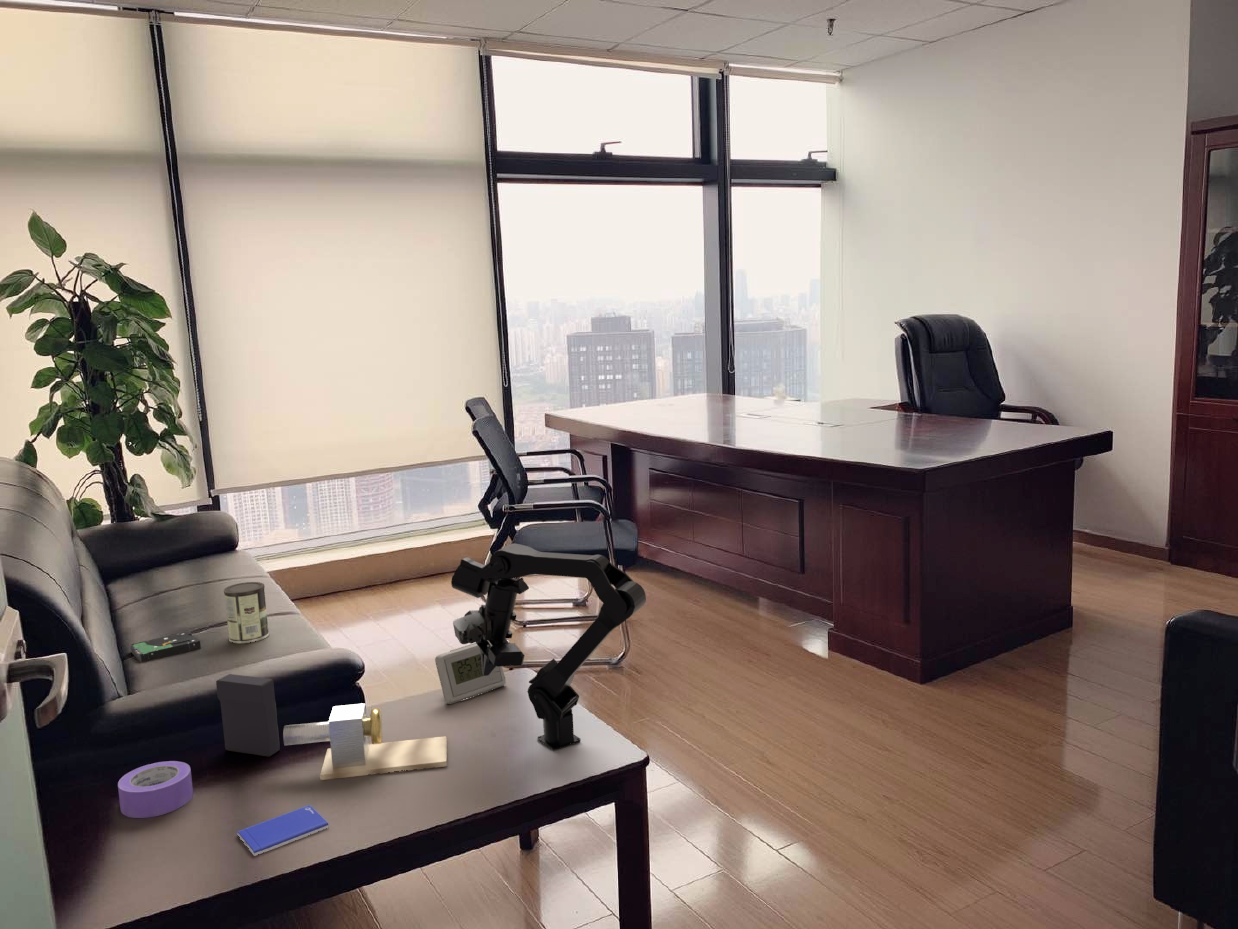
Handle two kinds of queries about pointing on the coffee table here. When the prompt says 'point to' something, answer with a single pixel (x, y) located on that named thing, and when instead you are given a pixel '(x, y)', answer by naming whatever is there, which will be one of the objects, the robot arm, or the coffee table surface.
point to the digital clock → (465, 674)
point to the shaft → (321, 732)
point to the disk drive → (165, 646)
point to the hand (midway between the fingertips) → (485, 674)
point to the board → (393, 758)
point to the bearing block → (348, 736)
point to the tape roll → (155, 789)
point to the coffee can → (246, 612)
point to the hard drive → (282, 830)
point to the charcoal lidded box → (248, 714)
